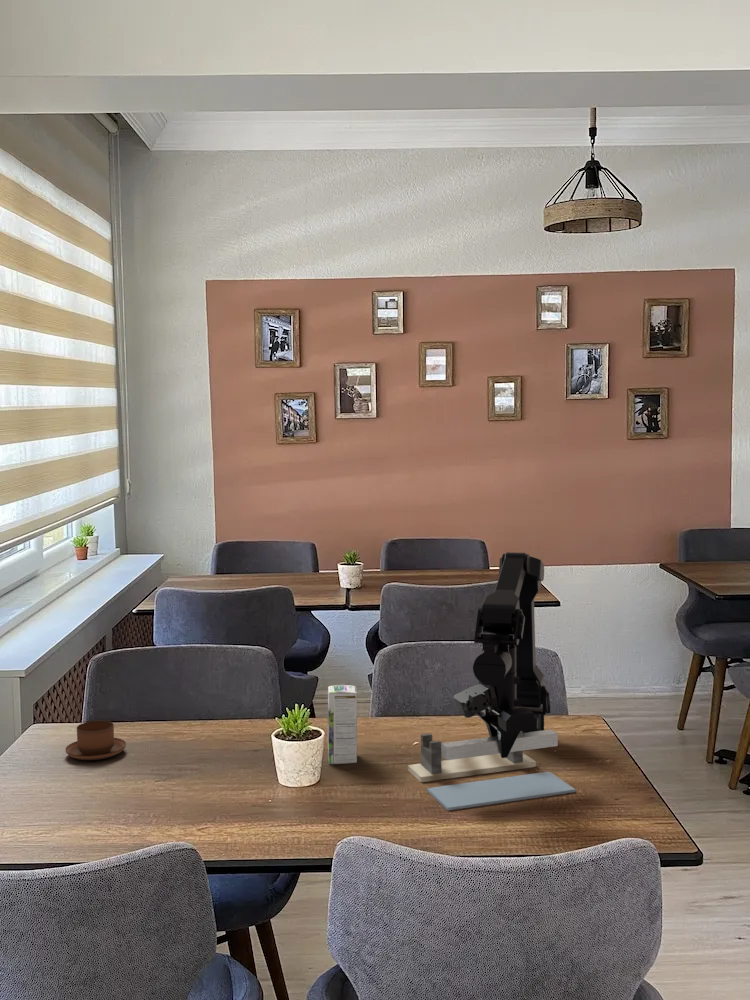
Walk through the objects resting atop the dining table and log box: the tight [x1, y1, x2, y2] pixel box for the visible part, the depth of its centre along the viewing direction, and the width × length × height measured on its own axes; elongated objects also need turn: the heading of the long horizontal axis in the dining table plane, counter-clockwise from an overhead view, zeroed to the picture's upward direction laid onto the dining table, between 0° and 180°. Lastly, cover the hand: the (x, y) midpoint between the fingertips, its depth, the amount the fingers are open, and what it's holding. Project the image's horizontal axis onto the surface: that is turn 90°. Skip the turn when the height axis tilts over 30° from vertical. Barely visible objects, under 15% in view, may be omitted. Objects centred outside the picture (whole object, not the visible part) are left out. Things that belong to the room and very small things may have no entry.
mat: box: [426, 771, 576, 811], centre depth 186 cm, size 25×10×1 cm, turn 108°
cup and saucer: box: [65, 720, 127, 761], centre depth 210 cm, size 12×12×6 cm
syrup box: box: [327, 684, 358, 765], centre depth 204 cm, size 6×6×14 cm
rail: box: [441, 728, 559, 760], centre depth 185 cm, size 22×2×2 cm, turn 108°
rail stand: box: [407, 731, 537, 783], centre depth 198 cm, size 24×7×7 cm, turn 108°
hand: (500, 755), depth 185 cm, fingers closed on rail, 2 cm apart
